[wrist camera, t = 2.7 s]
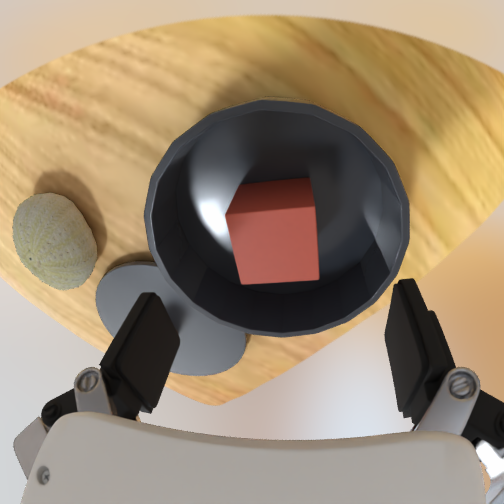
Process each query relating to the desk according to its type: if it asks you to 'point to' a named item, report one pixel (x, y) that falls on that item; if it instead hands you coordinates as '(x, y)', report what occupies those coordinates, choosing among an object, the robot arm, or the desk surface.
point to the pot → (271, 169)
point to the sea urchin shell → (54, 241)
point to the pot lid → (181, 314)
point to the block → (274, 231)
